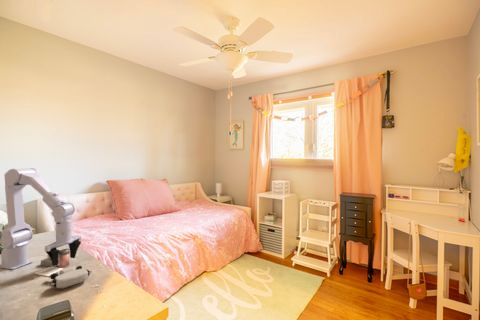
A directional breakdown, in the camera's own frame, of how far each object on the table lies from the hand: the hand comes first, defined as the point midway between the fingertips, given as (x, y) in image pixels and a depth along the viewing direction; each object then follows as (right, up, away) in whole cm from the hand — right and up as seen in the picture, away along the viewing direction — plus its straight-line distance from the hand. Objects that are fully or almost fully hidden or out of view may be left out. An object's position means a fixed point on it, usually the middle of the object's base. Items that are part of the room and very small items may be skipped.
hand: (64, 261), depth 103 cm
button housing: (-7, -2, +4) cm, 8 cm away
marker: (0, -2, 0) cm, 2 cm away
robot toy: (+13, -2, -13) cm, 19 cm away
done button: (-7, -1, +4) cm, 8 cm away
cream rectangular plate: (-2, -2, -5) cm, 6 cm away
